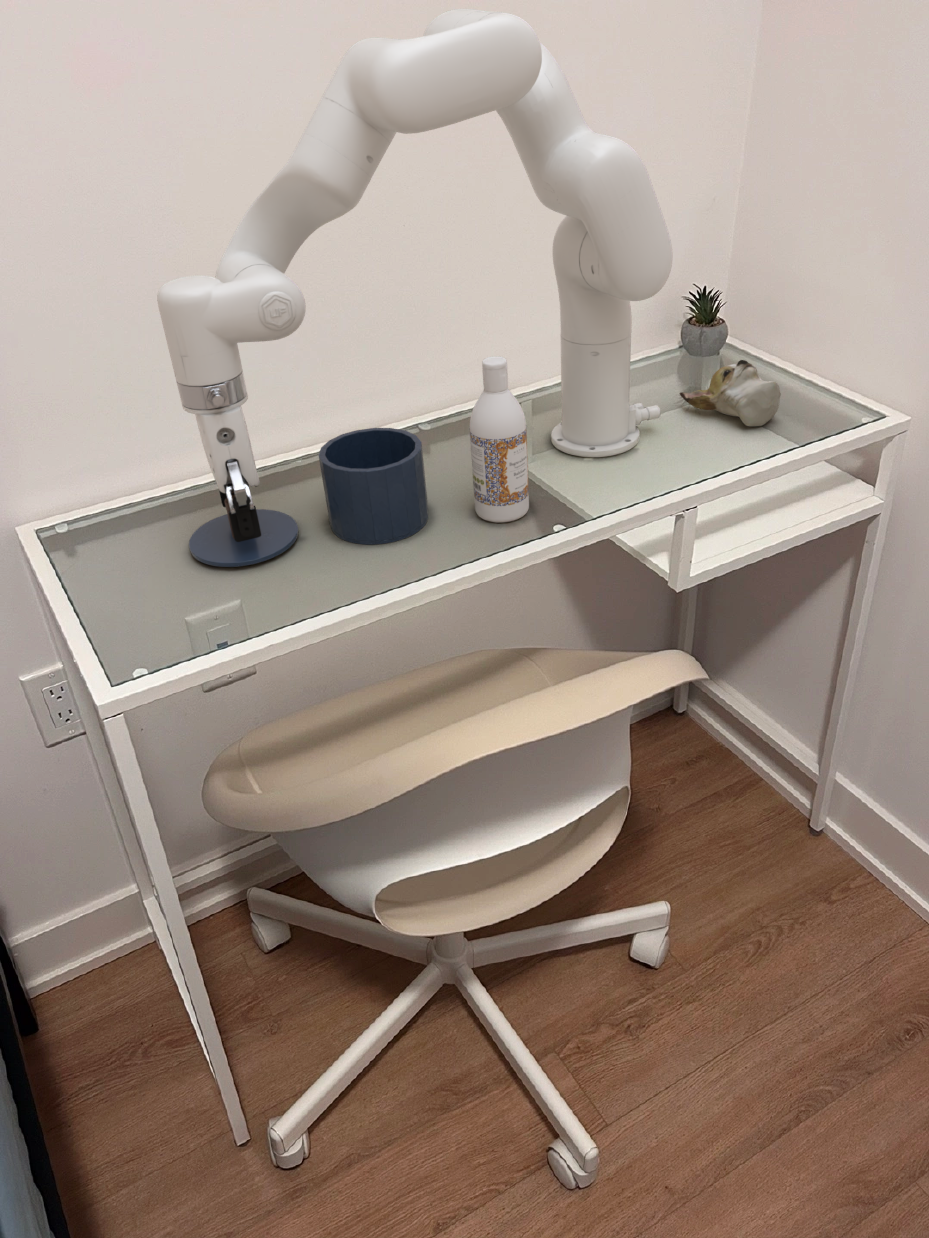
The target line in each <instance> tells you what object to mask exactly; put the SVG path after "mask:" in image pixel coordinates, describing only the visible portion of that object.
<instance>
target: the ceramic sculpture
mask: <svg viewBox="0 0 929 1238" xmlns="http://www.w3.org/2000/svg"><path fill="white" fill-rule="evenodd" d="M781 395H782V393H781V388H780V385H779V383H778V382H777V381H775V380H769V381H766V380H763V379H762V377H761V376H760V374H759V372H758V368H757V367H756V366H755V365H754V364H752V363H751V362H749V361H747V360H746V359H740V360H738V361H737V363H733V364H732V363H731V364H729V365H725V366H722V367H720V368H719V369H717V370H716V371H715V372H714V374H713V375H712V377H711V378H710V383H709V387H708V388H707V389H696V390H694V391H691V392H682V391H681V392H679V396H681V398H682V399H683V400H684V401H685V402H686V403H688V404H689V405H691V406H692V407H694V408H696V409H698V410H703V411H717V412H719V413H721V414H722V415H726V416H731V417H739V419H740V421H741V422H742V424H744V425H745V426H746V427H761V426H764V425H765V424H767V423H768V422H769V421H770V420H772V419H773V418H774V417H775V415H776V413H777V412H778V410H779V407H780V401H781Z"/></svg>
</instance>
